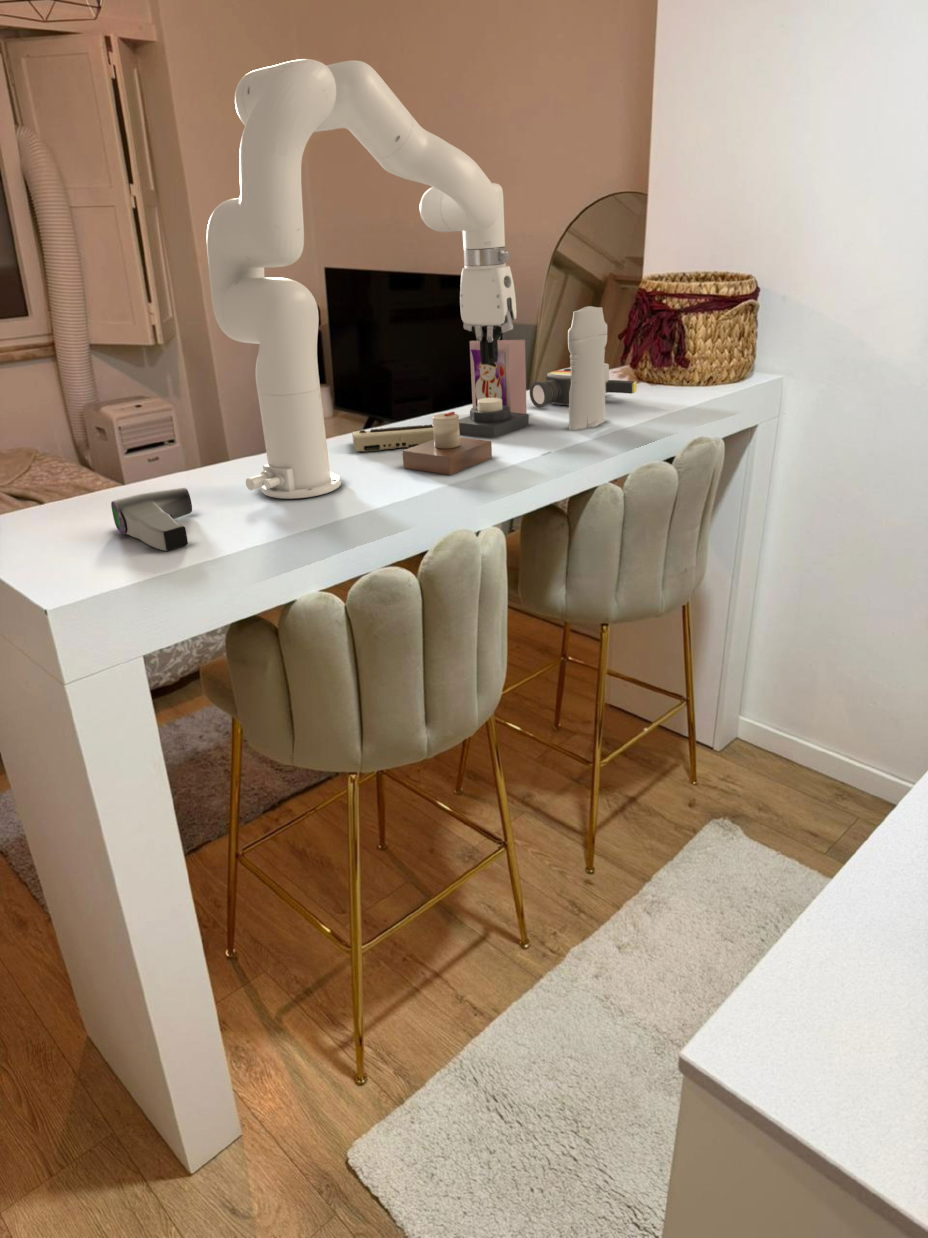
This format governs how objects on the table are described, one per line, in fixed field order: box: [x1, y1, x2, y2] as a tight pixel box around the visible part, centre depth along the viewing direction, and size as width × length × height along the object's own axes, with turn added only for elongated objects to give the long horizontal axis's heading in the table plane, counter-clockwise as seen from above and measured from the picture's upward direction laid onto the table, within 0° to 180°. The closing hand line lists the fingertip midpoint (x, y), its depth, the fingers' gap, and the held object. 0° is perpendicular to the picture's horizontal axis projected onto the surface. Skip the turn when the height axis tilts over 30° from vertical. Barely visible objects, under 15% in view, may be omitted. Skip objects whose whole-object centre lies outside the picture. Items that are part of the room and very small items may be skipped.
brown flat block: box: [402, 436, 493, 476], centre depth 151 cm, size 12×10×3 cm
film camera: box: [529, 362, 638, 409], centre depth 189 cm, size 7×19×15 cm
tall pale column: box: [567, 305, 608, 431], centre depth 168 cm, size 11×4×22 cm, turn 132°
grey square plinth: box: [459, 405, 530, 439], centre depth 173 cm, size 12×10×4 cm
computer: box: [351, 424, 434, 452], centre depth 165 cm, size 16×8×3 cm, turn 99°
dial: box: [432, 411, 461, 449], centre depth 150 cm, size 4×4×5 cm
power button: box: [477, 398, 502, 412], centre depth 172 cm, size 5×5×2 cm
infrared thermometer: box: [110, 487, 193, 552], centre depth 125 cm, size 5×12×15 cm
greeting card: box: [469, 339, 528, 414], centre depth 181 cm, size 11×7×15 cm, turn 42°
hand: (489, 362), depth 169 cm, fingers closed
